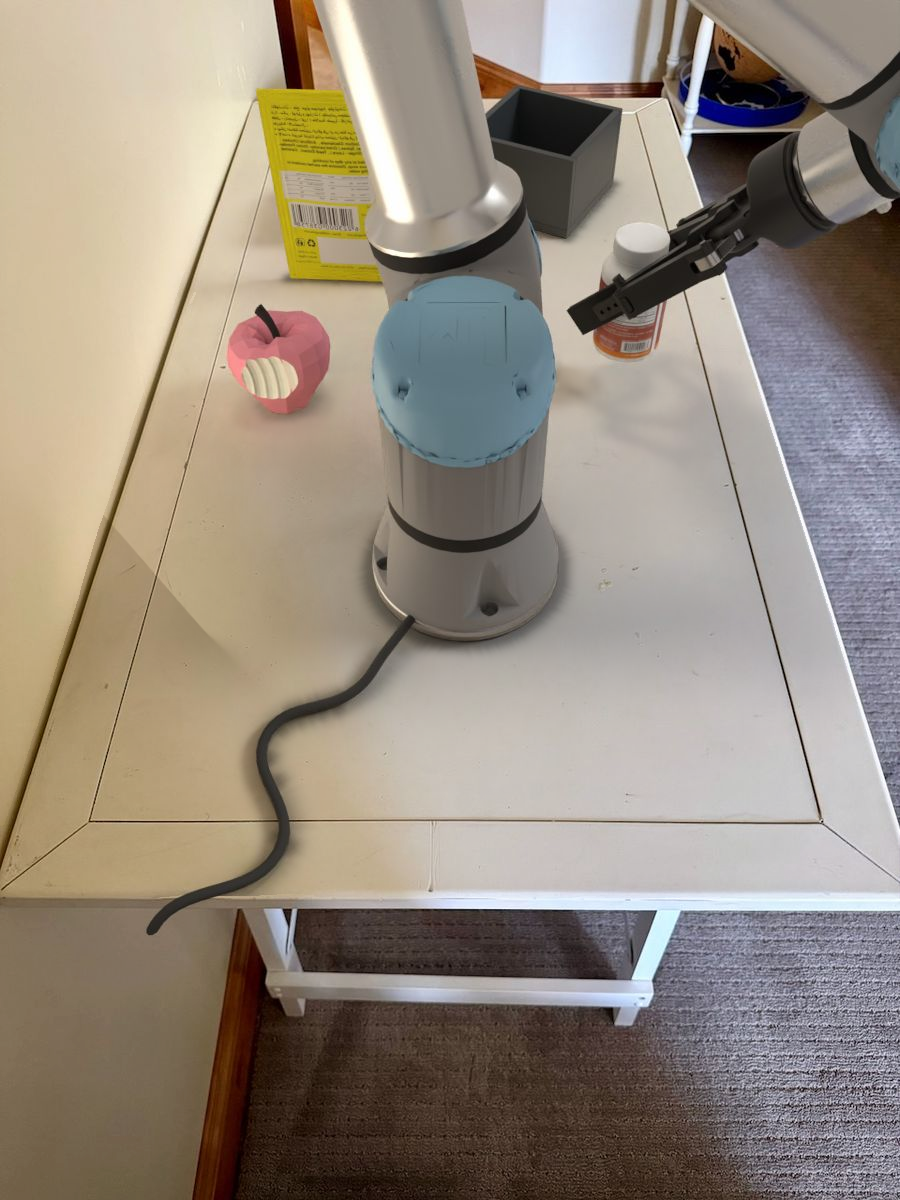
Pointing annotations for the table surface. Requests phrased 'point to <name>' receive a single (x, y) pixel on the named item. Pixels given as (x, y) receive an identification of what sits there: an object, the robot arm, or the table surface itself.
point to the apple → (279, 357)
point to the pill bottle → (629, 256)
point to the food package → (318, 184)
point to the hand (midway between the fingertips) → (594, 301)
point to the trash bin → (556, 153)
